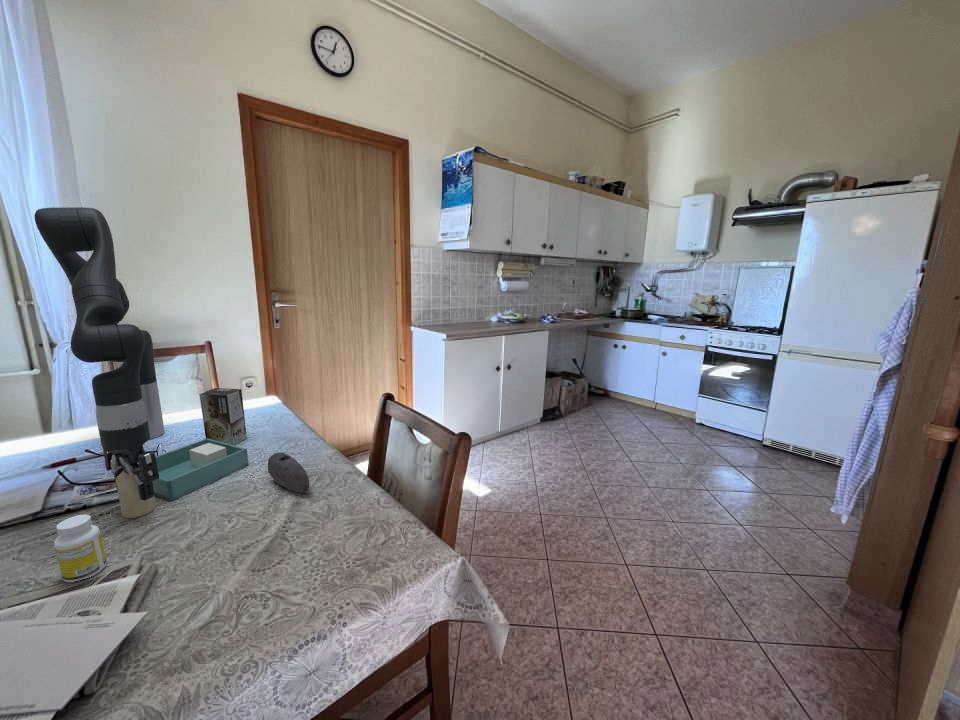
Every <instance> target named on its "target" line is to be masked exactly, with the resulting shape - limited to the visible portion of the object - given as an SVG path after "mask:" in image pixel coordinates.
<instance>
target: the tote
mask: <svg viewBox="0 0 960 720" xmlns="http://www.w3.org/2000/svg"><path fill="white" fill-rule="evenodd" d="M207 443H211V444H215V445H219V446H222V447H226V451H227V456H226V457H223V458H221V459H219V460H216V461H214V462H211V463H209V464H207V465H204V466H202V467H199V468H197V467H194V466H191V459H190V452H189V450H190V449H193V448H196V447H199V446H201V445H204V444H207ZM155 457H156V463H157V468H158V473H159V479H156V480H154V481H152V482H153V488H154V496H156V497H159V498H161V499H164V500H167V501H168V502H173V501H175V500H176V499H179V498H181V497H183V496H185V495H187V494H189V493H191V492H193V491H196V490H199V489H201V488H203V487H205V486H206V485H209V484H211V483H213V482H216V481H218V480H220V479H222V478H224V477H226V476H228V475H231V474H233V473H236V472H237V471H239V470H242V469H244V468H246V467H248V466H249V457H248V448H245V447H242V446H241V447H240V446H238V445H231V444H227V443H223V442H220V441H216V440H212V439H208V438H207V439H206V438H204V439H201V440H199V441H195V442H193V443H190V444H187V445H184V446H182V447H179V448H176V449H174V450H171V451H168V452H165V453H162V454H160V455H157V456H156V455H155ZM151 472H152V470H151ZM152 474H153V473H152Z"/></svg>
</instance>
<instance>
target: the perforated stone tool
mask: <svg viewBox="0 0 960 720" xmlns="http://www.w3.org/2000/svg"><path fill="white" fill-rule="evenodd" d="M267 471H268V474H269V475H270V477H271V478H272V479H273V480H274V481H275V482H276V483H277V484H279V485H281V486H283V487H284V488H286V489H288V490H290V491H292V492H296V493H300V494H302V493H306V492H307V491H309V488H310V478H309V476H308V475H309V474H308V473H307V471H306V470H305V469H304V466H302V464H301V463H299V462H298V461H297V460H296V459H295V457H293V456H291V455H289V454H287V453H286V452H285V453H284V452H276V453H273V454H272V455H270V457H268V461H267Z"/></svg>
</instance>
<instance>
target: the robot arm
mask: <svg viewBox="0 0 960 720" xmlns="http://www.w3.org/2000/svg"><path fill="white" fill-rule="evenodd" d="M34 221H35V226H36V228H37V230H38V233H39V234H40V236H41V238H42V239H43V241H44V243H45V245H47V247H48V250H50V252H51V254H52V255H53V256H54V258H55V259H56V261H57V262H58V264H59V265H60V267H61V269H62V270H63V272H64V274H65V275H66V277H67V279H68V281H69V284H70V286H71V294H72V298H73V302H74V306H75V311H76V312H75V313H76V321H75V325H74V328H73V331H72V333H71V338H70V350H71V352H72V354H73V355H74V357H76V359H78V360H80V361H82V362H85V363H90V364H93V363H94V364H95V363H101V362H113V363H122V364H121V365H120V366H119V367H117V368H114V369H112V370H109V371H105V372H101V373H98V374H96V375H95V376H94V377H93V378H92V379H91V387H92V392H93V398H94V403H95V417H96V418H95V419H96V423H97V429H98V435H99V440H100V445H101V447H102V452H103V457H104V458H103V459H104V465H105V469H106V471H108V472H109V471H110V473H111V475H112V476H113V477H114V484H115V488H116V490H117V484H116V478H117V476H118V475H119V474H120V473H121V472H122V471H123V470H124V469H127V471H128V473H129V475H130V476H134V477H135V479H136V481H137V482H138V488H139V494H140V499H141V500H143V501H144V500H147V499H149V498H152V497H153V496H154V497H155V495H154V488H153V482H152V481H154V480H156V479H159V473H158V468H157V463H156V454H155V452H154V451H150V452H147V453H146V451H145V448H144V445H145V444H146V443H147V442H149V441H150V440H152V439H155V438H158V437H160V436H162V435H163V434H165V425H164V418H163V413H162V405H161V399H160V392H159V386H158V381H157V380H158V379H157V374H156V373H157V372H156V366H155V357H154V356H155V355H154V344H153V339H152V338H153V337H152V335H151V334H150V333H149V331H148V330H144V329H140V328H139V327H138V326H136V325H134V324H131V323H129V324H128V323H126V324H125V323H124V324H119V323H120V322H121V321H123V319H125V316H126V315H127V313H128V311H129V309H130V300H129V297H128V295H127V293H126V290H125V288H124V287H125V286H124V285H123V284H122V282H121V281H120V280H119V279H117V270H116V269H117V267H116V266H117V265H116V257H115V254H116V253H115V246H114V239H113V235H112V231H111V228H110V225H109V223H108V221H107V219H106V217H105V215H104V214H103V213H102V212H101V211H100V210H98V209H97V208H93V207H84V206H83V207H79V206H78V207H41V208H39V209H37V210H35V212H34ZM78 252H79V253H81V252H82V253H83V252H92V253H91V255H90V257H89V258H88V260H86V259H84V258H83V256H81V255H80V254H79V253H78ZM137 468H140V469H137ZM135 469H137V470H135ZM151 470H152V472H151ZM140 473H141V476H140ZM152 473H153V474H152Z"/></svg>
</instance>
